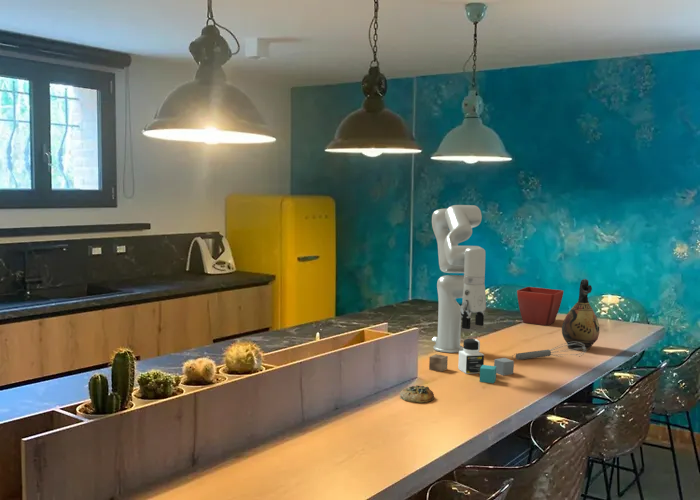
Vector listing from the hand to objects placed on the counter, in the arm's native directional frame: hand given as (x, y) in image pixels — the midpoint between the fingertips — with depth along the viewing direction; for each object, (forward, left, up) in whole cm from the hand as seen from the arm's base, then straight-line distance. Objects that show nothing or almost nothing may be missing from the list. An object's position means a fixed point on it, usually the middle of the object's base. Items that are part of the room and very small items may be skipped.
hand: (472, 326), depth 254 cm
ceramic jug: (+3, +69, -17) cm, 71 cm away
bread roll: (+11, -40, -17) cm, 45 cm away
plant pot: (-42, +103, -17) cm, 113 cm away
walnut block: (-10, -8, -17) cm, 21 cm away
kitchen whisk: (+5, +43, -17) cm, 47 cm away
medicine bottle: (0, 0, -17) cm, 17 cm away
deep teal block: (+12, -5, -17) cm, 21 cm away
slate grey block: (+9, +8, -17) cm, 21 cm away
